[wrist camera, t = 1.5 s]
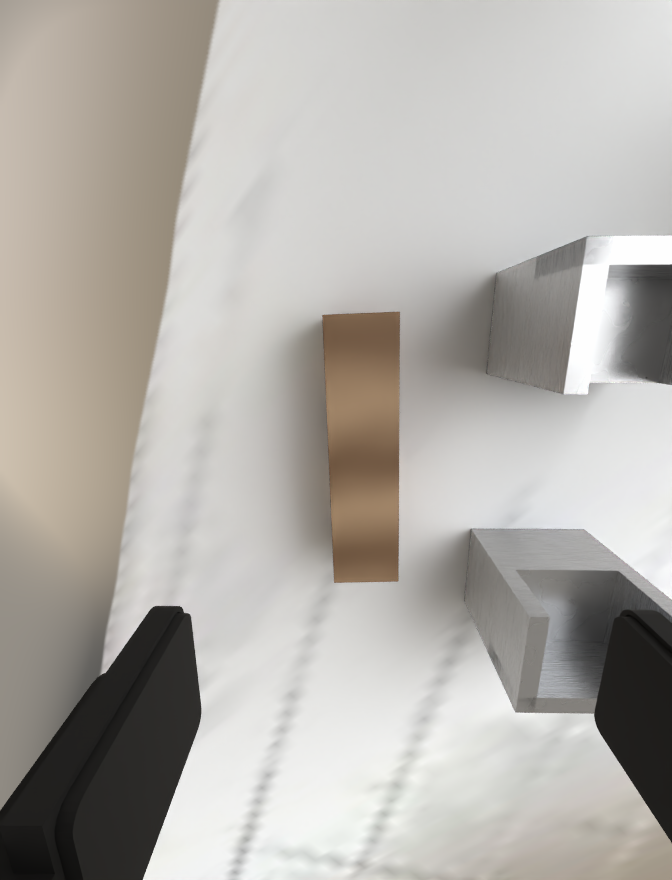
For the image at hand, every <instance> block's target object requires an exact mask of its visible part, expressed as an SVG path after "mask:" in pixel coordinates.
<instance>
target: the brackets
mask: <svg viewBox="0 0 672 880" xmlns="http://www.w3.org/2000/svg"><path fill="white" fill-rule="evenodd" d="M487 374H490V375H493V376H497V377H501V378H505V379H508V380H512V381H516V382H520V383H523V384H527V385H531V386H534V387H538V388H542V389H546V390H549V391H553V392H557V393H561V394H588V389H589V383H662V384H668V385H672V236H587V237H584V238H582V239H579V240H577V241H574V242H572V243H569V244H567V245H564V246H562V247H559V248H557V249H554V250H552V251H550V252H547V253H545V254H542V255H540V256H537V257H535V258H532V259H530V260H527V261H525V262H522V263H520V264H517V265H515V266H513V267H510V268H508V269H505V270H503V271H500V272H498V273H496V283H495V293H494V303H493V313H492V324H491V334H490V344H489V354H488V364H487ZM464 601H465V603H466V606H467V608H468V610H469V612H470V614H471V617H472V619H473V621H474V623H475V625H476V627H477V630H478V632H479V634H480V636H481V638H482V641H483V643H484V645H485V647H486V649H487V651H488V654H489V656H490V658H491V660H492V662H493V665H494V667H495V669H496V671H497V673H498V676H499V678H500V680H501V682H502V684H503V686H504V689H505V691H506V693H507V695H508V697H509V700H510V702H511V704H512V706H513V708H514V710H515V712H524V713H594V712H595V706H596V702H597V697H598V692H599V687H600V683H601V678H602V673H603V668H604V664H605V659H606V654H607V649H608V645H609V640H610V635H611V630H612V626H613V622H614V619H615V618H616V617H619V616H620V613H621V612H622V611H623V610H627V609H640V610H655V611H658V612H659V613H661V614H662V615H663V616H664V617H665V618H667V619H668V620H669V621H670V622H671V623H672V600H671V599H670V598H669V597H667V596H666V595H665V594H664V593H662V592H661V591H660V590H659V589H657V588H656V587H655V586H654V585H652V584H651V583H650V582H649V581H648V580H646V579H645V578H644V577H643V576H641V575H640V574H639V573H638V572H636V571H635V570H634V569H633V568H631V567H630V566H629V565H628V564H626V563H625V562H624V561H623V560H621V559H620V558H619V557H618V556H616V555H615V554H614V553H613V552H611V551H610V550H609V549H608V548H607V547H605V546H604V545H603V544H602V543H600V542H599V541H598V540H597V539H595V538H594V537H593V536H592V535H590V534H589V533H588V532H587V531H585V530H568V529H471V537H470V548H469V558H468V568H467V578H466V588H465V599H464Z"/></svg>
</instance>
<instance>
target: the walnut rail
mask: <svg viewBox="0 0 672 880" xmlns="http://www.w3.org/2000/svg"><path fill="white" fill-rule="evenodd" d="M322 317H323V340H324V362H325V385H326V407H327V430H328V452H329V475H330V497H331V520H332V542H333V565H334V583H343V582H391V581H398V556H399V350H400V312H382V313H358V314H333V315H322Z"/></svg>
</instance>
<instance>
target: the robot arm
mask: <svg viewBox="0 0 672 880" xmlns="http://www.w3.org/2000/svg"><path fill="white" fill-rule="evenodd" d="M594 717H595V722H596V725H597V728H598V730H599V732H600V734H601V735H602V737H603V738H604V740H605V741H606V743H607V745H608V746H609V748H610V749H611V751H612V752H613V754H614V755H615V757H616V758H617V760H618V761H619V763H620V764H621V766H622V767H623V769H624V771H625V772H626V774H627V775H628V777H629V778H630V780H631V781H632V783H633V784H634V786H635V787H636V789H637V790H638V792H639V793H640V795H641V796H642V798H643V800H644V801H645V803H646V804H647V806H648V807H649V809H650V810H651V812H652V813H653V815H654V816H655V818H656V819H657V821H658V822H659V824H660V826H661V827H662V829H663V830H664V832H665V833H666V835H667V836H668V838H669V839H670V841H671V842H672V623H671V622H670V621H669V620H668V619H667V618H665V617H664V616H663V615H662V614H661V613H659V612H658V611H655V610H640V609H627V610H623V611H622V612H621V613H620V616H619V617H616V618H615V619H614V622H613V626H612V630H611V635H610V640H609V645H608V649H607V654H606V659H605V664H604V668H603V673H602V678H601V683H600V687H599V692H598V697H597V702H596V706H595V712H594ZM200 719H201V701H200V692H199V683H198V674H197V666H196V657H195V648H194V640H193V631H192V622H191V616H190V614H188V613H184V612H183V609H182V607H180V606H155V607H153V608H152V609H151V610H150V611H149V612H148V614H147V615H146V617H145V618H144V620H143V621H142V622H141V624H140V625H139V627H138V628H137V630H136V631H135V632H134V634H133V635H132V637H131V638H130V639H129V641H128V642H127V644H126V645H125V647H124V648H123V649H122V651H121V652H120V654H119V655H118V656H117V658H116V659H115V661H114V662H113V664H112V665H111V666H110V668H109V669H108V671H107V672H106V673H104V674H102V675H101V676H99V677H98V678H97V679H96V680H95V681H94V682H93V683H92V684H91V686H90V687H89V689H88V690H87V691H86V693H85V694H84V695H83V697H82V698H81V700H80V701H79V703H78V704H77V705H76V707H75V708H74V709H73V711H72V712H71V713H70V715H69V716H68V718H67V719H66V720H65V722H64V723H63V725H62V726H61V728H60V729H59V730H58V731H57V733H56V734H55V736H54V737H53V738H52V740H51V741H50V743H49V744H48V745H47V747H46V748H45V750H44V751H43V752H42V754H41V755H40V756H39V758H38V759H37V761H36V762H35V764H34V765H33V766H32V767H31V769H30V770H29V772H28V773H27V774H26V776H25V777H24V779H23V780H22V781H21V783H20V784H19V785H18V787H17V788H16V790H15V791H14V792H13V794H12V795H11V796H10V798H9V799H8V801H7V802H6V804H5V805H4V806H3V808H2V809H1V810H0V880H143V877H144V874H145V872H146V869H147V866H148V864H149V861H150V858H151V855H152V853H153V850H154V847H155V845H156V842H157V839H158V836H159V834H160V831H161V828H162V826H163V823H164V820H165V817H166V815H167V812H168V809H169V806H170V804H171V801H172V798H173V796H174V793H175V790H176V787H177V785H178V782H179V779H180V777H181V774H182V771H183V768H184V766H185V763H186V760H187V757H188V755H189V752H190V749H191V747H192V744H193V741H194V738H195V736H196V733H197V730H198V727H199V724H200Z"/></svg>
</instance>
